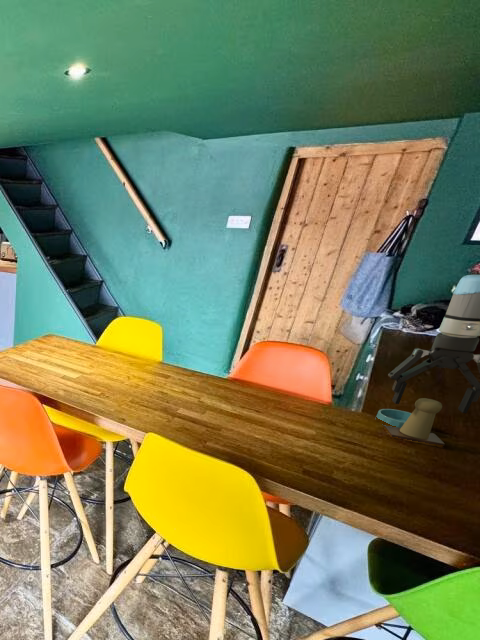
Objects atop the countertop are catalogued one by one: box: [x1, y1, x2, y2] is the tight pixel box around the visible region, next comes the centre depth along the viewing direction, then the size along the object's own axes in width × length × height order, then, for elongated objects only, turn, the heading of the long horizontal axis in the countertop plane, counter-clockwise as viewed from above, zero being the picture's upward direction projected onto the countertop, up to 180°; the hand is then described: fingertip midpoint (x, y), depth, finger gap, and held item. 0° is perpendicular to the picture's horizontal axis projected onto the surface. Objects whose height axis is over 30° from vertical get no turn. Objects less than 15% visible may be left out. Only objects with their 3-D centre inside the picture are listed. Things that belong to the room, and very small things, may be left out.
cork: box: [400, 397, 443, 439], centre depth 117 cm, size 6×6×11 cm
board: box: [383, 425, 445, 447], centre depth 119 cm, size 11×7×2 cm, turn 60°
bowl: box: [375, 408, 412, 428], centre depth 127 cm, size 11×11×3 cm
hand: (427, 406), depth 115 cm, fingers open, 13 cm apart
